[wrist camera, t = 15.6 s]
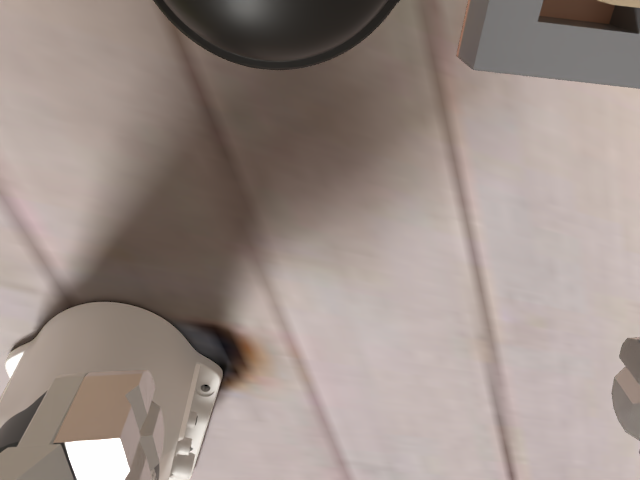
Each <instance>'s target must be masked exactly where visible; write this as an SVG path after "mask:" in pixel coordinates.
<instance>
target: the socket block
mask: <svg viewBox="0 0 640 480" xmlns="http://www.w3.org/2000/svg"><path fill="white" fill-rule="evenodd" d="M456 56H457V57H458V58H460V59H461V60H462V61H463V62H464V63H465V64H467V65H468V66H469V67H470V68H471V69H473V70H478V71H487V72H496V73H505V74H514V75H523V76H532V77H541V78H549V79H558V80H567V81H576V82H585V83H594V84H603V85H611V86H620V87H629V88H638V89H640V8H636V7H627V6H618V5H612V4H608V3H604V2H600V1H597V0H468V4H467V9H466V14H465V18H464V23H463V27H462V32H461V37H460V41H459V46H458V50H457V55H456Z"/></svg>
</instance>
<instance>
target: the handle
mask: <svg viewBox="0 0 640 480" xmlns="http://www.w3.org/2000/svg"><path fill="white" fill-rule="evenodd" d="M597 1H600V2H604V3H608V4H612V5H618V6H627V7H636V8H640V0H597Z"/></svg>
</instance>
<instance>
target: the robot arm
mask: <svg viewBox="0 0 640 480" xmlns="http://www.w3.org/2000/svg"><path fill="white" fill-rule="evenodd" d="M619 357H620V359H621V360H622V362H623V363H624V365H625V366H626V367H624V368H623V369H622V370H621V371H620V372H619V373H618V374H617V375H616V376H615V377H614V382H613V388H612V399H613V407H614V410H615V413H616V416H617V418H618V421H619V422H620V424H621V425H622V427H623V429H624V430H625V432H626V433H628V434H630V435H631V436H633V437H635V438H636V439H638V440H639V441H640V337H635V338H627V339H626V340H625V342H624V343H623V344H622V347H621V351H620V355H619ZM5 369H6V371H7V374H8V376H9V378H10V380H9V382H8V384H7V386H6V388H5V390H4V392H3V394H2V396H1V398H0V480H190V478H191V476H192V473H193V470H194V467H195V464H196V461H197V458H198V454H199V451H200V448H201V445H202V442H203V438H204V435H205V432H206V429H207V425H208V422H209V419H210V416H211V413H212V409H213V406H214V403H215V400H216V396H217V393H218V390H219V387H220V384H221V380H222V377H223V371H222V369H221V368H220V367H219V366H218V365H217V364H216V363H214V362H213V361H211V360H210V359H208V358H206V357H205V356H203V355H201V354H199V353H198V352H197V351H196V350H195V349H194V348H193V347H192V346H191V345H190V344H189V342H188V341H187V340H186V338H185V337H184V336H183V335H182V334H181V333H180V332H179V331H178V330H177V329H176V328H175V327H174V326H173V325H172V324H170V323H169V322H167V321H166V320H164V319H163V318H161V317H160V316H158V315H156V314H154V313H152V312H150V311H147V310H145V309H142V308H139V307H136V306H132V305H128V304H123V303H116V302H93V303H86V304H81V305H78V306H74V307H72V308H69V309H67V310H65V311H63V312H61V313H59V314H58V315H56V316H55V317H53V318H52V319H51V320H50V321H49V322H48V323H47V324H46V325H45V326H44V327H43V328H42V330H41V331H40V332H39V334H38V335H37V336H36V337H35V338H34V339H33V340H32V341H31V342H28V343H26V344H24V345H22V346H20V347H18V348H16V349H14V350H13V351H12V352H10V354H9V355H8V357H7V359H6V362H5ZM204 385H208V386H204ZM639 454H640V451H639Z"/></svg>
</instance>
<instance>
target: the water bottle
mask: <svg viewBox="0 0 640 480" xmlns="http://www.w3.org/2000/svg"><path fill="white" fill-rule="evenodd" d="M399 1H400V0H154V2H155V3H156V5H157V6H158V7H159V9H160V10H161V11H162V12H163V13H164V15H165V16H166V17H167V18H168V19H169V20H170V21H171V22H172V23H173V24H174V25H175V26H176V27H177V28H178V29H179V30H180V31H181V32H182V33H183V34H185V35H186V36H187V37H188V38H190V39H191V40H192V41H194V42H195V43H196V44H198V45H199V46H201V47H202V48H204V49H206V50H207V51H209V52H211V53H213V54H215V55H217V56H219V57H221V58H223V59H226V60H228V61H231V62H234V63H237V64H240V65H244V66H248V67H253V68H259V69H268V70H289V69H298V68H304V67H308V66H312V65H316V64H319V63H322V62H325V61H328V60H330V59H332V58H335V57H337V56H339V55H341V54H343V53H344V52H346V51H348V50H350V49H351V48H353V47H354V46H356V45H357V44H358V43H360V42H361V41H362V40H364V39H365V38H366V37H367V36H369V35H370V34H371V33H372V32H373V31H374V30H375V29H376V28H377V27H378V26H379V25H380V24H381V23H382V22H383V21H384V19H385V18H386V17H387V16H388V15H389V13H390V12H391V11H392V9H393V8H394V7H395V5H396V4H397V2H399Z"/></svg>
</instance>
